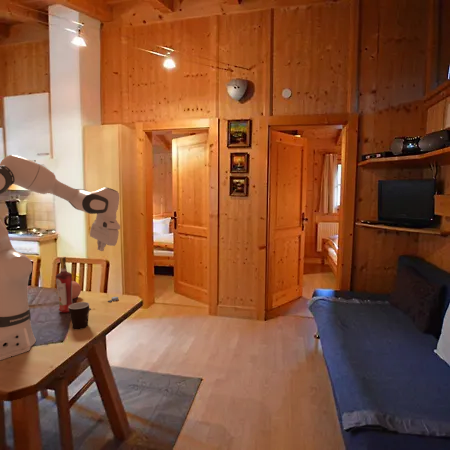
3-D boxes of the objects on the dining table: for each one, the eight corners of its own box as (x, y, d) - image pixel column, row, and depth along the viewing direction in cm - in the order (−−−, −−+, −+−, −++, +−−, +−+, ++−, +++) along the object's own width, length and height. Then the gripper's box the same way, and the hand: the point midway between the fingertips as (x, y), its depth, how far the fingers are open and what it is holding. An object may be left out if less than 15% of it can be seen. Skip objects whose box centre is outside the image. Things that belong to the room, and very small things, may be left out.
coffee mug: (82, 331, 145) (81, 309, 144) (65, 329, 147) (64, 308, 146) (98, 320, 156) (97, 300, 155) (81, 319, 158) (80, 299, 157)
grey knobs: (82, 313, 165) (81, 311, 165) (77, 312, 167) (77, 309, 167) (119, 299, 185) (119, 297, 185) (115, 298, 187) (115, 296, 187)
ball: (67, 305, 181) (75, 291, 179) (54, 293, 183) (62, 279, 181) (80, 299, 191) (87, 286, 189) (67, 289, 193) (75, 275, 190)
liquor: (55, 312, 167) (51, 258, 163) (67, 307, 173) (64, 255, 170) (64, 314, 163) (60, 259, 160) (77, 309, 170) (74, 256, 166)
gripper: (89, 217, 161) (84, 245, 162) (109, 225, 147) (104, 255, 148) (101, 218, 166) (96, 245, 167) (122, 226, 152) (117, 256, 153)
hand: (100, 250), depth 157 cm, fingers closed
